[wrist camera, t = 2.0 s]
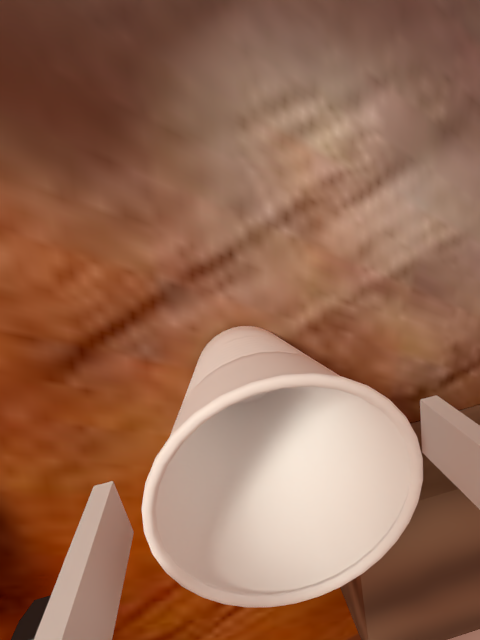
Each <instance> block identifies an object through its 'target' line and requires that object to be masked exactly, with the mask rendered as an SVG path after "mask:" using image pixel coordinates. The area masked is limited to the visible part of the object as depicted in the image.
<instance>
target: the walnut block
mask: <svg viewBox="0 0 480 640" xmlns="http://www.w3.org/2000/svg"><path fill="white" fill-rule="evenodd" d="M459 411H460V412H461V413H463V414H464V415H465V416H467V417H468V418H470V419H471V420H473V421H474V422H475V423H477V424H478V425H480V405H477V406H474V407H470V408H466V409H463V410H459ZM410 425H411V427H412V428H413V430H414V432H415V434H416V435H417V438H418V442H419V446H420V450H421V453H422V438H421V421H419V422H415V423H411V424H410ZM422 457H423V483H422V487H421V492H420V497H419V501H418V504H417V506H416V508H415V511H414V513H413V515H412V518H411V520H410V522H409V524H408V525H407V527H406V528H405V530H404V531H403V533H402V534H401V536H400V537H399V539H398V540H397V542H396V543H395V544H394V545H393V546H392V547H391V548H390V549H389V550H388V551H387V553H386V554H385V555H384V556H383V557H382V558H381V559H380V560H379V561H377V562H376V563H375V564H374V565H372V566H371V567H370V568H369V569H368V570H366V571H365V572H364V573H363V574H361V575H360V576H358V577H356V578H355V579H353V580H351V581H350V582H348V583H346V584H345V585H343V586H342V587H340V588H341V590H342V593H343V595H344V598H345V600H346V603H347V605H348V608H349V610H350V613H351V615H352V618H353V620H354V623H355V625H356V628H357V630H358V633H359V635H360V637H361V640H447V639H450V638H453V637H456V636H459V635H462V634H466V633H469V632H472V631H475V630H478V629H480V509H479V508H478V507H477V506H476V505H475V504H474V503H473V502H472V501H471V500H470V499H469V498H468V497H467V496H466V495H465V494H464V493H463V492H462V491H461V490H460V489H459V488H458V487H457V486H456V485H455V484H454V483H453V482H452V481H451V480H450V479H449V478H448V477H447V476H445V475H444V474H443V473H442V472H441V471H440V470H439V469H438V468H437V467H436V466H435V465H434V464H433V463H432V462H431V461H430V460H429V459H428V458H427V457H426V456H425V455H424V454H423V453H422Z"/></svg>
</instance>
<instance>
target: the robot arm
mask: <svg viewBox="0 0 480 640" xmlns="http://www.w3.org/2000/svg"><path fill="white" fill-rule="evenodd" d="M420 414H421V438H422V453H423V454H424V455H425V456H426V457H427V458H428V459H429V460H430V461H431V462H432V463H433V464H434V465H435V466H436V467H437V468H438V469H439V470H440V471H441V472H442V473H443V474H444V475H445V476H447V477H448V478H449V479H450V480H451V481H452V482H453V483H454V484H455V485H456V486H457V487H458V488H459V489H460V490H461V491H462V492H463V493H464V494H465V495H466V496H467V497H468V498H469V499H470V500H471V501H472V502H473V503H474V504H475V505H476V506H477V507H478V508H479V509H480V425H478V424H477V423H475V422H474V421H473V420H471V419H470V418H468V417H467V416H465V415H464V414H463V413H461V412H460V411H458V410H457V409H455V408H454V407H453V406H451V405H450V404H448V403H447V402H445V401H444V400H443V399H441V398H440V397H438V396H437V395H436V396H432V397H428V398H424V399H421V400H420ZM133 533H134V532H133V529H132V527H131V524H130V522H129V519H128V517H127V514H126V512H125V509H124V507H123V505H122V502H121V500H120V497H119V495H118V492H117V490H116V487H115V485H114V482H113V481H111V482H108V483H104V484H100V485H96V486H94V487H93V489H92V492H91V495H90V497H89V500H88V502H87V505H86V507H85V510H84V512H83V515H82V518H81V520H80V523H79V525H78V528H77V530H76V533H75V535H74V538H73V541H72V543H71V546H70V548H69V551H68V553H67V556H66V558H65V561H64V564H63V566H62V569H61V571H60V574H59V576H58V579H57V581H56V584H55V587H54V589H53V592H52V594H51V596H47V597H44V598H40V599H37V600H34V602H33V603H32V604H31V606H30V607H29V609H28V610H27V611H26V613H25V614H24V616H23V617H22V618H21V620H20V621H19V623H18V625H17V627H16V630H15V632H14V634H13V636H12V638H11V640H112V637H113V632H114V627H115V622H116V617H117V612H118V607H119V602H120V597H121V592H122V587H123V582H124V577H125V572H126V568H127V563H128V558H129V553H130V548H131V543H132V538H133Z"/></svg>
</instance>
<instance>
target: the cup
mask: <svg viewBox="0 0 480 640" xmlns="http://www.w3.org/2000/svg"><path fill="white" fill-rule="evenodd" d="M422 483H423V457H422V453H421V450H420V446H419V442H418V438H417V435H416V434H415V432H414V430H413V428H412V427H411V425H410V423H409V421H408V419H407V418H406V416H405V415H404V414H403V413H402V412H401V411H400V410H399V409H398V408H397V407H396V406H395V405H394V404H393V403H392V402H391V401H390V399H388V398H387V397H385V396H384V395H382V394H380V393H379V392H377V391H376V390H374V389H372V388H371V387H369V386H368V385H365V384H362V383H359V382H356V381H353V380H351V379H348V378H345V377H342V376H339V375H338V374H336V373H335V372H333V371H331V370H330V369H328V368H327V367H325V366H323V365H322V364H320V363H319V362H317V361H315V360H314V359H312V358H310V357H309V356H307V355H306V354H304V353H303V352H301V351H299V350H298V349H296V348H295V347H293V346H291V345H290V344H288V343H287V342H285V341H284V340H282V339H280V338H279V337H277V336H276V335H274V334H272V333H271V332H269V331H267V330H265V329H262V328H259V327H253V326H239V327H235V328H231V329H228V330H226V331H224V332H221V333H220V334H219V335H217V336H216V337H214V338H213V339H212V340H211V341H210V342H209V343H208V344H207V345H206V347H205V348H204V350H203V351H202V353H201V355H200V357H199V360H198V362H197V365H196V368H195V371H194V373H193V376H192V379H191V382H190V384H189V387H188V390H187V392H186V395H185V398H184V400H183V403H182V406H181V408H180V411H179V414H178V416H177V419H176V421H175V424H174V427H173V429H172V432H171V435H170V437H169V439H168V440H167V442H166V443H165V445H164V446H163V448H162V449H161V451H160V452H159V454H158V455H157V456H156V458H155V460H154V463H153V465H152V468H151V470H150V473H149V475H148V477H147V480H146V482H145V488H144V495H143V502H142V518H143V527H144V533H145V536H146V539H147V541H148V544H149V546H150V549H151V552H152V554H153V556H154V557H155V558H156V560H157V561H158V562H159V564H160V565H161V567H162V568H163V569H164V571H165V572H166V573H167V574H168V575H169V576H171V577H172V578H173V579H174V580H175V581H176V582H178V583H179V584H180V585H181V586H182V587H184V588H186V589H188V590H190V591H192V592H193V593H195V594H197V595H199V596H201V597H203V598H206V599H209V600H213V601H216V602H219V603H222V604H227V605H234V606H241V607H275V606H282V605H288V604H295V603H299V602H302V601H305V600H309V599H312V598H316V597H319V596H321V595H324V594H326V593H328V592H330V591H333V590H335V589H337V588H339V587H342V586H343V585H345V584H346V583H348V582H350V581H351V580H353V579H355V578H356V577H358V576H360V575H361V574H363V573H364V572H365V571H366V570H368V569H369V568H370V567H371V566H372V565H374V564H375V563H376V562H377V561H379V560H380V559H381V558H382V557H383V556H384V555H385V554H386V553H387V551H388V550H389V549H390V548H391V547H392V546H393V545H394V544H395V543H396V542H397V540H398V539H399V537H400V536H401V534H402V533H403V531H404V530H405V528H406V527H407V525H408V524H409V522H410V520H411V518H412V515H413V513H414V511H415V508H416V506H417V504H418V501H419V497H420V492H421V487H422Z"/></svg>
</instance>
